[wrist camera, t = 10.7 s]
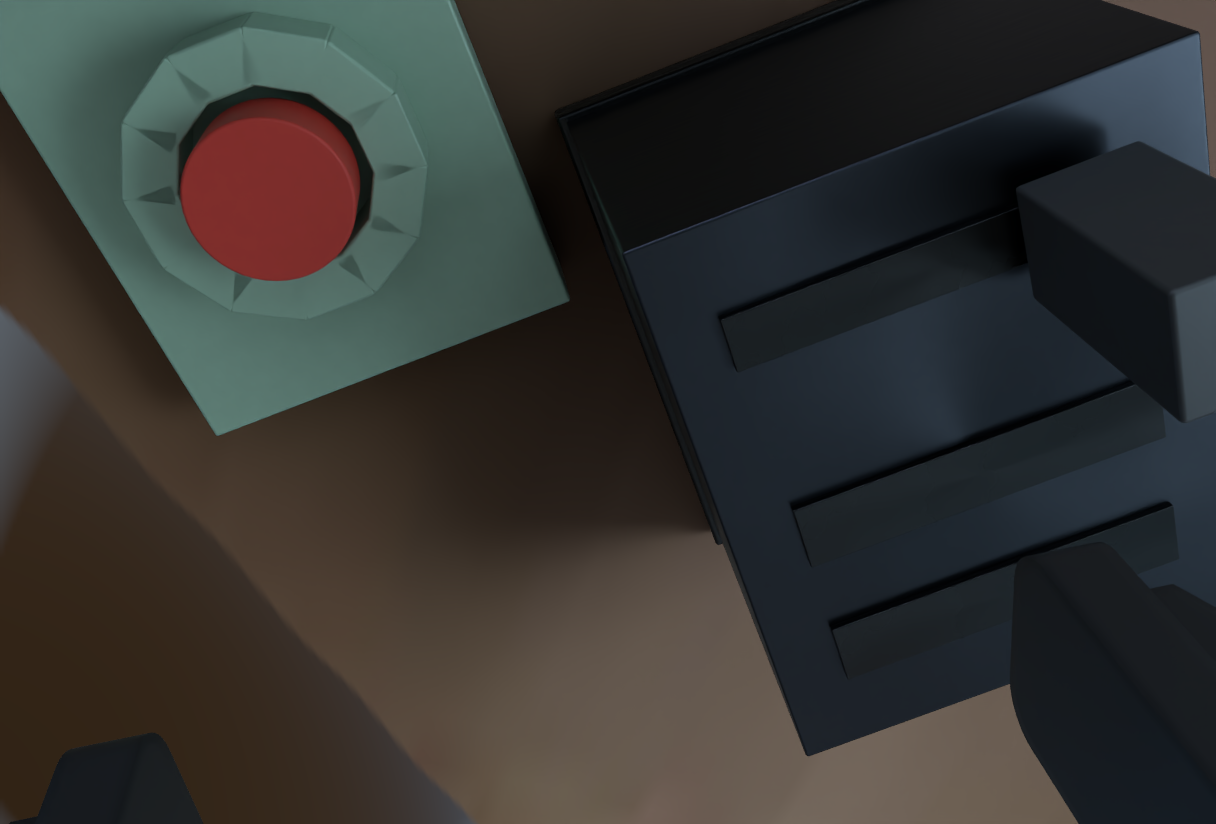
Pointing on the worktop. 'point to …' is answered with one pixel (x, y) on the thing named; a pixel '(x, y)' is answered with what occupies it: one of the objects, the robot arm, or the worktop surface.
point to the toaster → (895, 328)
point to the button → (271, 189)
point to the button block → (381, 141)
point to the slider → (1132, 267)
